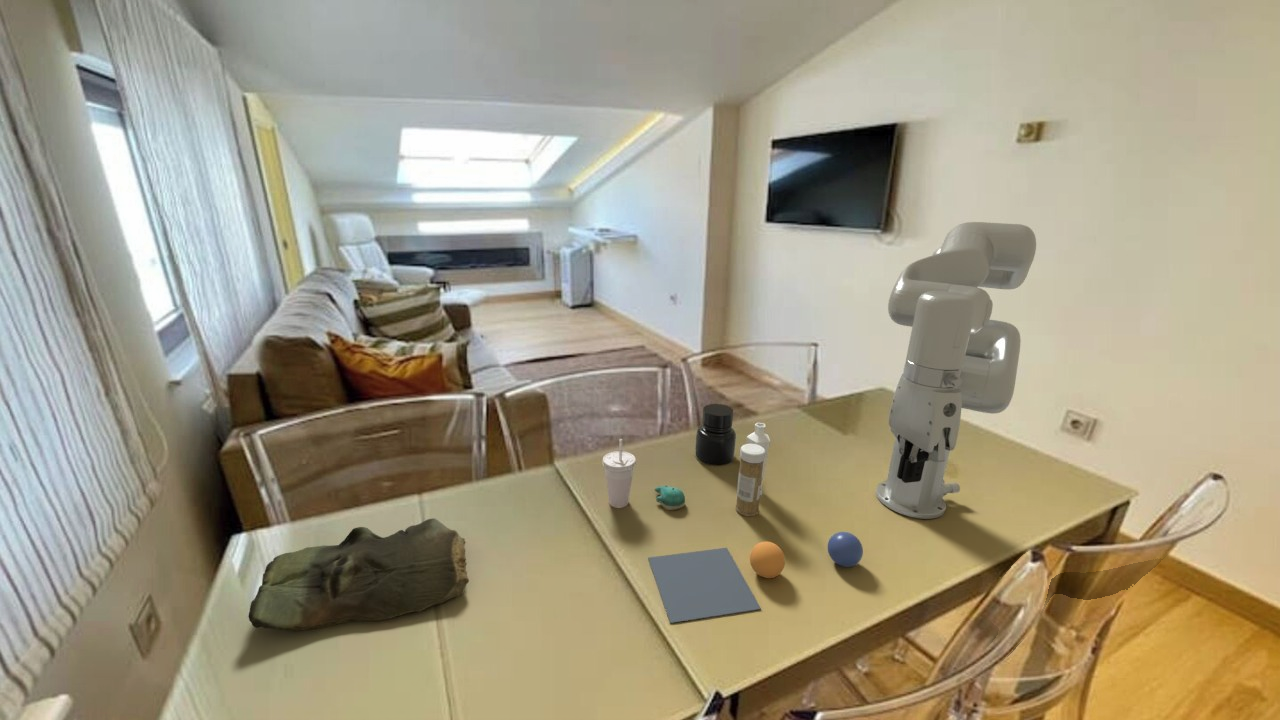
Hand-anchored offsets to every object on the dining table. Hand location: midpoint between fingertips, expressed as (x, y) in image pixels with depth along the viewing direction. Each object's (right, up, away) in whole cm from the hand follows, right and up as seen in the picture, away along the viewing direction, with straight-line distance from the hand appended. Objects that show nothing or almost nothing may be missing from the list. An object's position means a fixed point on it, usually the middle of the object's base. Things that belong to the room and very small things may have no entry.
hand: (908, 479), depth 85 cm
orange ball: (-23, -13, -1) cm, 27 cm away
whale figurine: (-38, -9, +19) cm, 43 cm away
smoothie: (-48, -9, +18) cm, 52 cm away
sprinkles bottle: (-23, -10, +17) cm, 30 cm away
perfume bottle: (-20, -8, +23) cm, 32 cm away
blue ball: (-10, -12, +2) cm, 16 cm away
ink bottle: (-27, -3, +36) cm, 45 cm away
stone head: (-85, -16, -3) cm, 86 cm away
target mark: (-34, -16, -2) cm, 38 cm away
